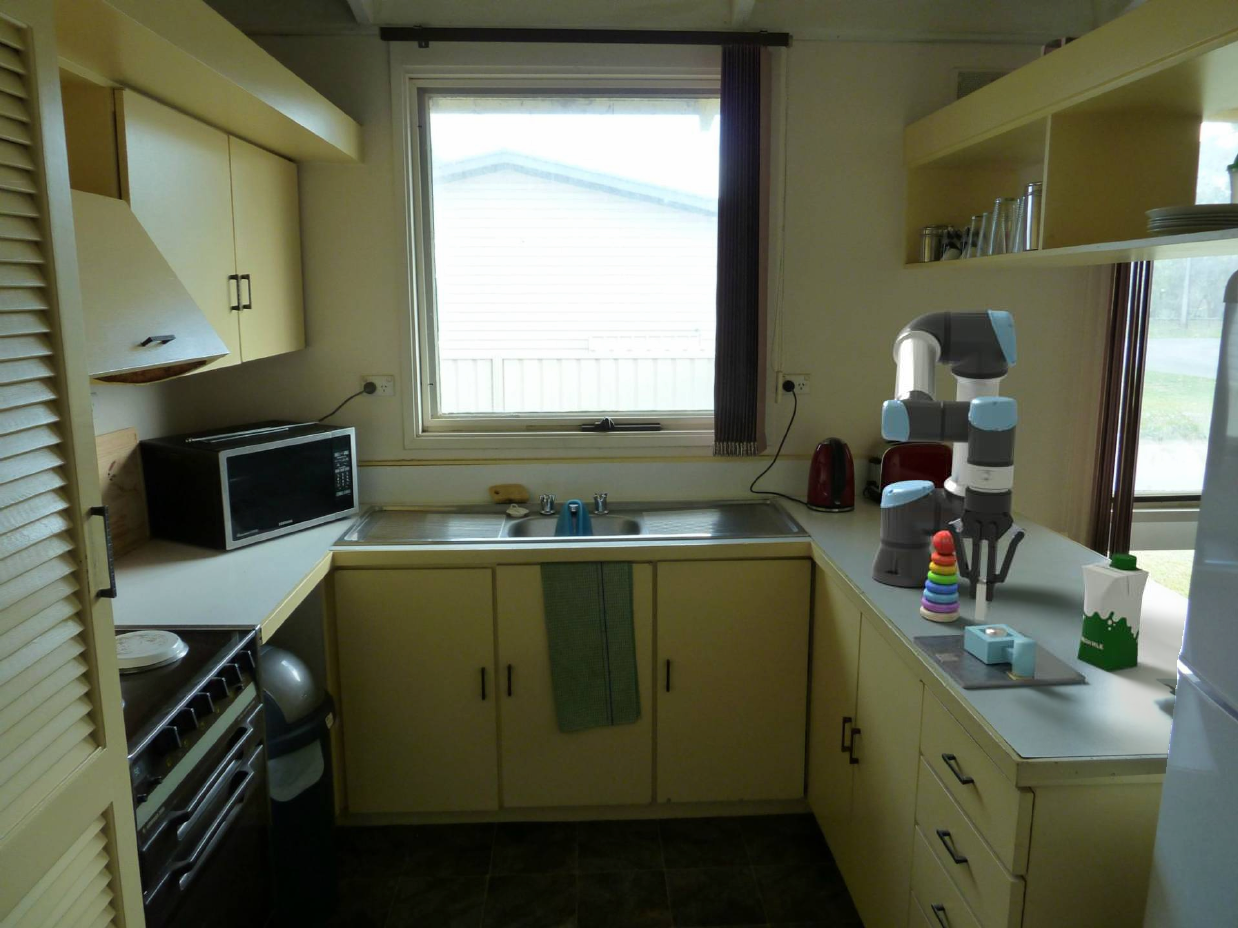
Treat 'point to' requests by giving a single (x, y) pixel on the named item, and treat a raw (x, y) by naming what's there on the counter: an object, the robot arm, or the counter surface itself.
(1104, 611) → the milk carton
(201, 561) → the counter surface
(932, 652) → the post plate
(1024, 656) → the blue handled square frame
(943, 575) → the stacking toy
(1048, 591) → the counter surface
